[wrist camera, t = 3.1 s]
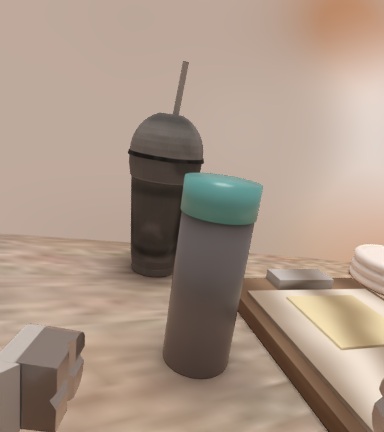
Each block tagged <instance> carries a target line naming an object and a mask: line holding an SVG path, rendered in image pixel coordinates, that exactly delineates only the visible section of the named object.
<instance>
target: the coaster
mask: <svg viewBox="0 0 384 432" xmlns="http://www.w3.org/2000/svg"><path fill="white" fill-rule="evenodd" d="M349 270H350V274H351V275H352V277H353V278H354V279H355V280H356V281H358V282H359V283H361V284H362V285H364V286H366V287H367V288H369V289H371V290H373V291H376V292H378V293H380V294H383V295H384V246H383V245H374V244H365V245H360V246H358V247H357V248H356V249H355V250H354V257H353V258H352V264H351V266H350V268H349Z"/></svg>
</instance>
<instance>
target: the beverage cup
mask: <svg viewBox="0 0 384 432" xmlns="http://www.w3.org/2000/svg"><path fill="white" fill-rule="evenodd" d="M188 64H189V62H186V61H183V65H182V70H181V75H180V81H179V86H178V91H177V96H176V101H175V106H174V111H173V114H166V113H157V114H155V115H152V116H151V117H148V118H147V119H146V120H144V121H143V122H142V123H141V124H140V125H139V127H138V128H137V130H136V131H135V133H134V135H133V138H132V141H131V146H130V149H129V151H128V153H129V154H130V157H129V164H130V174H131V175H132V180H131V181H132V182H131V187H132V188H131V257H132V264H131V266H132V269H133V270H134V271H135V272H137V273H139V274H142V275H145V276H150V277H164V276H168V275H171V274H172V273H173V272H174V265H175V257H176V250H177V243H178V235H179V228H180V220H181V213H182V210H181V200H182V193H183V185H184V178H185V174H187V173H200V170H201V164H203V163H204V161H203V145H202V140H201V137H200V135H199V133H198V131H197V129H196V128H195V126H194V125H193V124H192V123H191V122H190V121H189V120H188V119H186V118H185V117H183V116H179V110H180V105H181V100H182V95H183V89H184V84H185V79H186V74H187V69H188Z"/></svg>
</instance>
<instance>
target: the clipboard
mask: <svg viewBox="0 0 384 432" xmlns="http://www.w3.org/2000/svg"><path fill="white" fill-rule="evenodd" d="M238 312H239V313H240V314H241V316H242V317H243V318H244V320H245V321H246V322H247V323H248V325H249V326H250V327H251V329H252V330H253V331H254V333H255V334H256V335H257V337H258V338H259V339H260V341H261V342H262V343H263V345H264V346H265V347H266V349H267V350H268V351H269V353H270V354H271V355H272V357H273V358H274V359H275V361H276V362H277V363H278V364H279V366H280V367H281V368H282V370H283V371H284V372H285V374H286V375H287V376H288V378H289V379H290V380H291V382H292V383H293V384H294V386H295V387H296V388H297V390H298V391H299V392H300V394H301V395H302V396H303V398H304V399H305V400H306V402H307V403H308V404H309V406H310V407H311V408H312V409H313V411H314V412H315V413H316V415H317V416H318V417H319V419H320V420H321V421H322V423H323V424H324V425H325V427H326V428H327V429H328V431H329V432H374V429H373V426H372V411H373V407H374V403H375V402H377V401H378V400H379V399H380V398H382V395H381V392H380V390H379V387H380V384H381V381H382V380H383V379H384V299H383V298H382V297H380V296H379V295H377V294H375V293H374V292H372V291H371V290H369V289H368V288H366V287H364V286H363V285H361V284H360V283H358V282H357V281H355V280H354V279H352V278H330V277H329V276H328V275H326V274H325V273H323V272H322V271H320V270H319V269H268V270H267V275H266V278H244V280H243V285H242V290H241V295H240V300H239V306H238Z"/></svg>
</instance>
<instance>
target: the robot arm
mask: <svg viewBox="0 0 384 432" xmlns="http://www.w3.org/2000/svg"><path fill="white" fill-rule="evenodd" d="M84 345H85V335H84V333H83V332H81V331H75V330H69V329H63V328H57V327H51V326H45V325H38V324H31V323H30V324H26V325H25V326H24V327H23V328H22V329H21V330H20V331H19V332H18V334H17V335H16V336H15V337H14V338H13V339H12V340H11V341H10V342H9V343H8V344H7V345H6V346H5V347H4V348H3V349H2V350H1V351H0V432H19V431H20V429H26V430H34V431H42V432H56V430H57V429H58V427H59V425H60V423H61V421H62V419H63V417H64V415H65V413H66V411H67V401H69V400H70V399H72V398H73V397H74V396H75V394H76V392H77V389H78V387H79V384H80V381H81V377H82V372H83V363H84V360H83V358H82V357H81V355H80V353H81V351H82V349H83V348H84ZM379 390H380V392H381V395H382V398H380V399H379V400H378V401H377V402H375V403H374V407H373V411H372V426H373V429H374V432H384V379H383V380H382V381H381V384H380V387H379Z"/></svg>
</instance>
